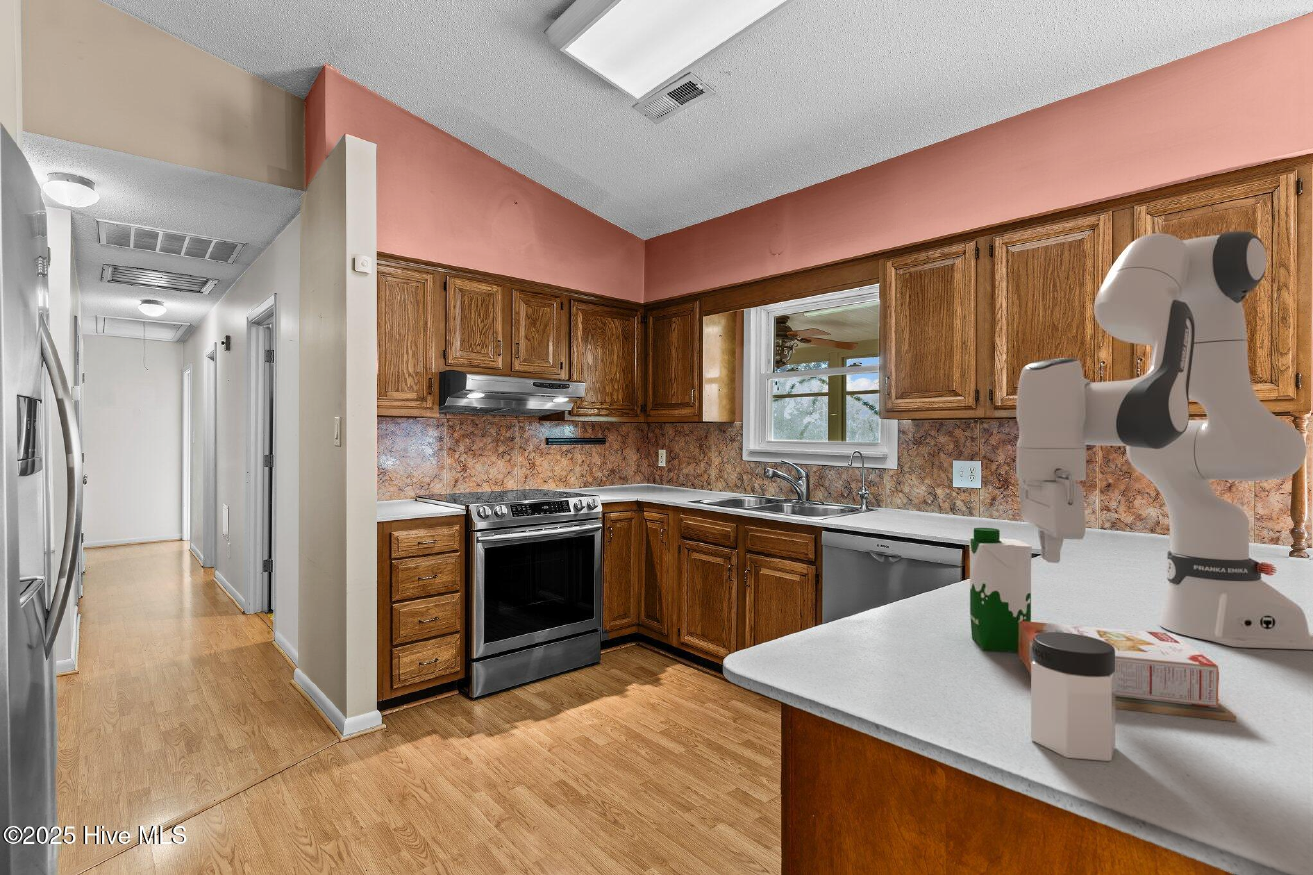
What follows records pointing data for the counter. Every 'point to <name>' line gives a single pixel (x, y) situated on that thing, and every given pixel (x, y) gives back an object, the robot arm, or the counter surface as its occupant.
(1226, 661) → the counter surface
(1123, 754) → the counter surface
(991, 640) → the soya milk
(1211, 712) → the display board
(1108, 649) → the jar
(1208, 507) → the robot arm
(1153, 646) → the cracker box
